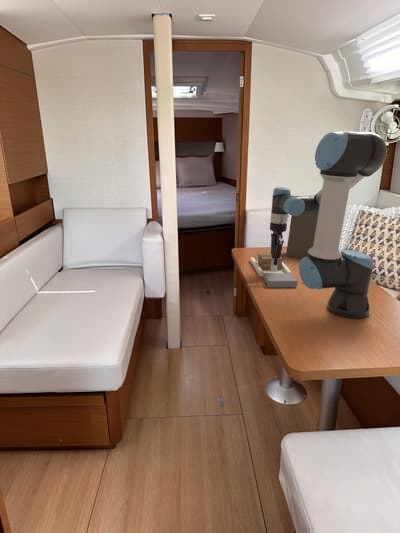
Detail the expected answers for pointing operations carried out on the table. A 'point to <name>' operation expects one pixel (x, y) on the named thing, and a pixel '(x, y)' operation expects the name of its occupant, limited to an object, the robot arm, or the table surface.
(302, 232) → the book
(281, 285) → the plinth
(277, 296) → the table surface
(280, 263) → the block
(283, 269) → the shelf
